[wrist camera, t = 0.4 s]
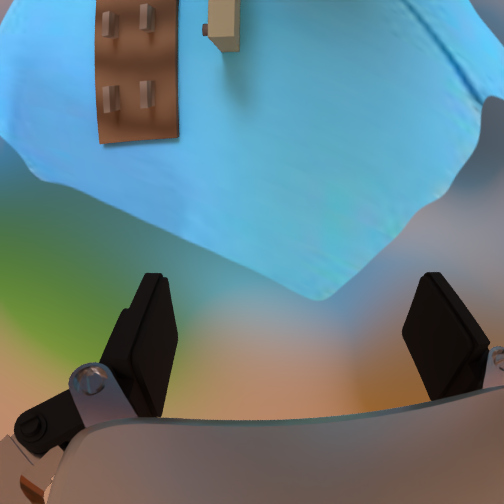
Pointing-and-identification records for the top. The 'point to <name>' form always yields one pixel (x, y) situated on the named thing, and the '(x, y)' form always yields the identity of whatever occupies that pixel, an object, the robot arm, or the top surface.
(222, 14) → the cabinet door
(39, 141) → the top surface
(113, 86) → the hinge base
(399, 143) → the top surface
